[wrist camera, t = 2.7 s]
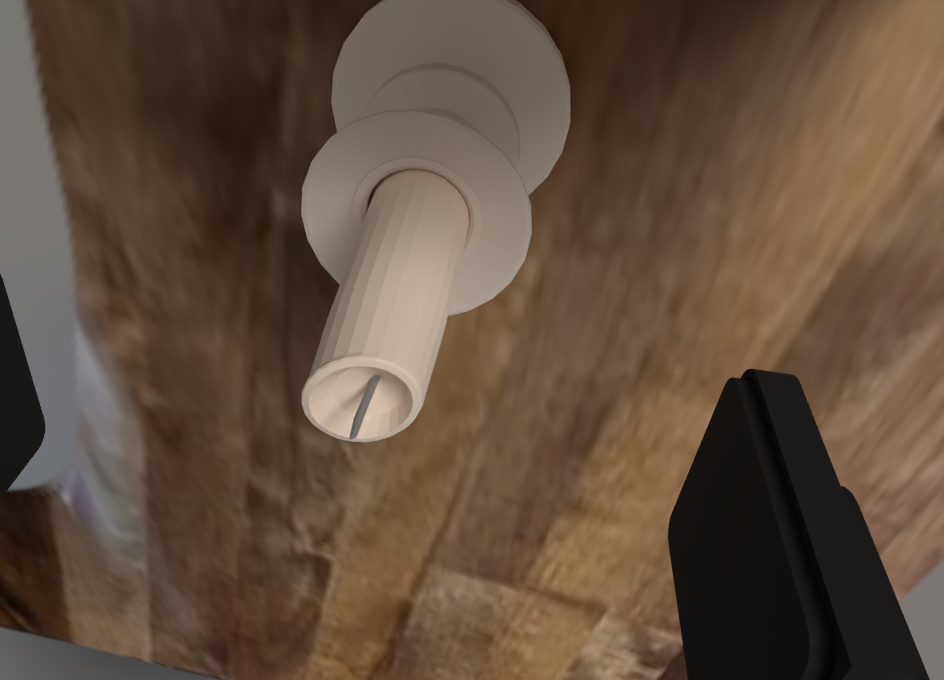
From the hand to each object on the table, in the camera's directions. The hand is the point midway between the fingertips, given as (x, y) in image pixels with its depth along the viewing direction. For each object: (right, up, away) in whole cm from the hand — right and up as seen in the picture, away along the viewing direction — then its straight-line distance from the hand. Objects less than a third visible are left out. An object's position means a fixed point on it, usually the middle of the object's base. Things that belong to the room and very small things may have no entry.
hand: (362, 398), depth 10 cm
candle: (+1, +6, +7) cm, 9 cm away
